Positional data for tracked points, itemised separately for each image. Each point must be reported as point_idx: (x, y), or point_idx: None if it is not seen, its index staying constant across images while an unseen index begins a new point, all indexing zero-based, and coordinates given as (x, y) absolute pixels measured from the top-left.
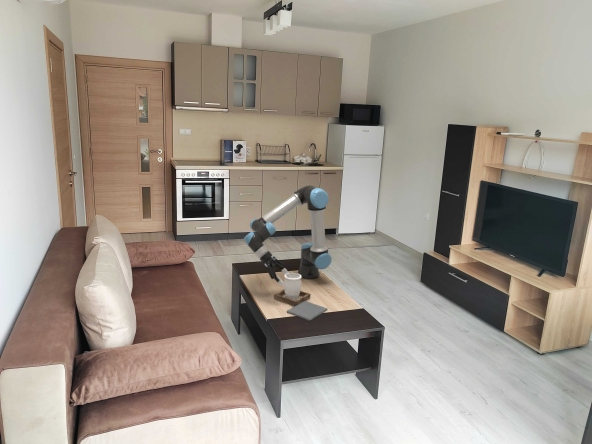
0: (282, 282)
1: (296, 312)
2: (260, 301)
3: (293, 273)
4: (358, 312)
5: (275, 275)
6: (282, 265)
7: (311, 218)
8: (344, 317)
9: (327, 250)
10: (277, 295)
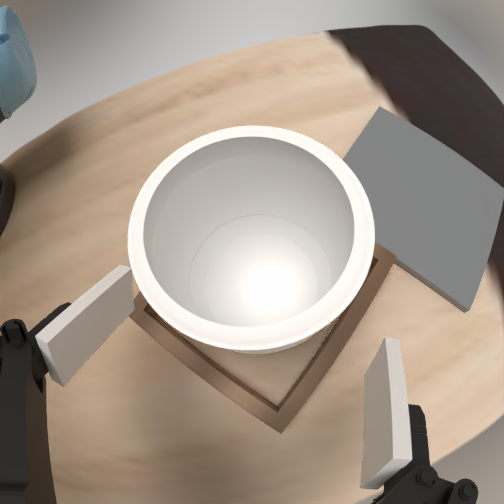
0: (401, 362)
1: (473, 252)
2: (328, 499)
3: (135, 223)
4: (357, 35)
5: (436, 481)
6: (2, 367)
7: None
8: (417, 73)
9: None
10: (300, 403)
